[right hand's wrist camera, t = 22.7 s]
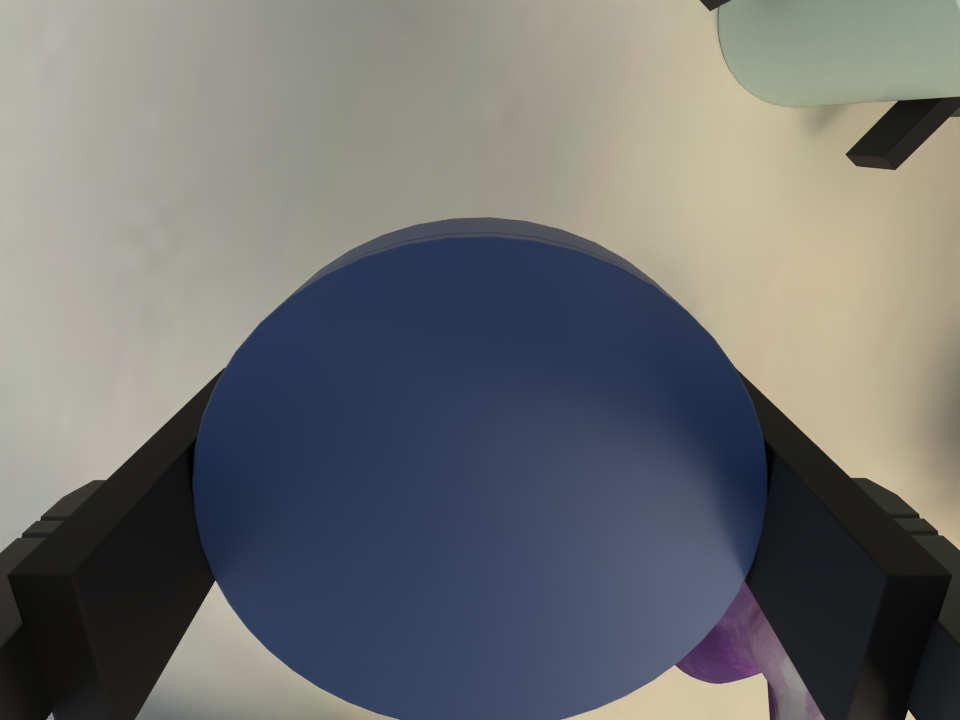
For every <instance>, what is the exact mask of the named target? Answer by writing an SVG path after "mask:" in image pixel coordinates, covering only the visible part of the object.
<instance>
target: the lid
mask: <svg viewBox="0 0 960 720" xmlns="http://www.w3.org/2000/svg"><path fill="white" fill-rule="evenodd" d="M192 490H193V504H194V513H195V518H196V523H197V528H198V533H199V537H200V542H201V546H202V549H203V551H204V554H205V556H206V559H207V562H208V564H209V567H210V569H211V572H212V574H213V576H214V578H215V580H216V582H217V584H218V585H219V587H220V589H221V591H222V593H223V594H224V596H225V598H226V600H227V602H228V603H229V605H230V606H231V607H232V609H233V610H234V611H235V613H236V614H237V615H238V617H239V618H240V619H241V621H242V622H243V623H244V625H245V626H246V627H247V628H248V630H249V631H250V632H251V633H252V634H253V635H254V636H255V637H256V638H257V639H258V640H259V641H260V642H261V643H262V644H263V645H264V646H265V647H266V648H267V649H268V650H269V651H270V652H271V653H272V654H274V655H275V656H276V657H277V658H278V659H280V660H281V661H282V662H283V663H284V664H286V665H287V666H288V667H289V668H291V669H292V670H293V671H295V672H296V673H298V674H299V675H301V676H302V677H304V678H305V679H307V680H308V681H310V682H312V683H313V684H315V685H316V686H318V687H319V688H321V689H323V690H325V691H327V692H329V693H331V694H333V695H335V696H337V697H339V698H341V699H343V700H345V701H347V702H349V703H352V704H354V705H357V706H360V707H362V708H365V709H368V710H370V711H373V712H375V713H378V714H382V715H386V716H389V717H393V718H397V719H400V720H561V719H565V718H569V717H572V716H575V715H578V714H581V713H584V712H587V711H590V710H594V709H597V708H599V707H601V706H604V705H606V704H608V703H610V702H613V701H615V700H617V699H620V698H622V697H624V696H626V695H628V694H630V693H632V692H633V691H635V690H637V689H639V688H640V687H642V686H644V685H646V684H647V683H649V682H651V681H653V680H654V679H656V678H657V677H658V676H660V675H661V674H663V673H664V672H665V671H667V670H668V669H669V668H671V667H672V666H674V665H675V664H676V663H678V662H679V661H680V660H681V659H682V658H684V657H685V656H686V655H687V654H688V653H689V652H690V651H691V650H692V649H693V648H694V647H696V646H697V645H698V644H699V643H700V642H701V641H702V640H703V639H704V638H705V637H706V635H707V634H708V633H709V632H710V631H711V630H712V628H713V627H714V626H715V625H716V624H717V623H718V621H719V620H720V619H721V618H722V617H723V615H724V614H725V612H726V611H727V609H728V608H729V606H730V605H731V603H732V601H733V600H734V598H735V597H736V595H737V594H738V592H739V591H740V589H741V587H742V585H743V583H744V580H745V578H746V576H747V574H748V572H749V570H750V568H751V566H752V564H753V561H754V558H755V555H756V552H757V549H758V545H759V542H760V538H761V533H762V528H763V523H764V517H765V512H766V506H767V501H768V465H767V458H766V452H765V445H764V439H763V433H762V430H761V427H760V424H759V421H758V418H757V414H756V411H755V408H754V405H753V402H752V399H751V398H750V396H749V394H748V392H747V390H746V388H745V386H744V384H743V382H742V380H741V378H740V376H739V374H738V372H737V370H736V368H735V367H734V365H733V364H732V363H731V361H730V360H729V358H728V357H727V356H726V354H725V353H724V352H723V350H722V349H721V347H720V346H719V345H718V343H717V342H716V340H715V339H714V338H713V337H712V336H711V335H710V334H709V333H708V332H707V331H706V330H705V329H704V328H703V327H702V326H701V325H700V324H699V323H698V322H697V321H696V319H695V318H694V317H693V316H692V315H691V314H690V313H689V312H688V311H687V310H686V309H684V308H683V307H682V306H681V305H680V304H679V303H678V302H677V301H676V300H674V299H673V298H672V297H671V296H670V295H669V294H668V293H667V292H666V291H665V290H663V289H662V288H661V287H660V286H659V285H658V284H657V283H656V282H655V281H653V280H652V279H651V278H649V277H648V276H647V275H645V274H644V273H643V272H642V271H640V270H639V269H638V268H636V267H635V266H634V265H632V264H631V263H630V262H628V261H627V260H626V259H624V258H622V257H620V256H618V255H617V254H615V253H613V252H611V251H609V250H608V249H606V248H604V247H602V246H600V245H599V244H597V243H595V242H592V241H590V240H587V239H585V238H582V237H579V236H577V235H574V234H572V233H569V232H567V231H564V230H561V229H557V228H553V227H548V226H544V225H540V224H536V223H532V222H528V221H519V220H509V219H500V218H458V219H448V220H442V221H436V222H430V223H424V224H418V225H414V226H411V227H408V228H404V229H401V230H398V231H395V232H391V233H388V234H385V235H382V236H380V237H378V238H375V239H373V240H371V241H369V242H367V243H365V244H362V245H360V246H358V247H356V248H354V249H352V250H350V251H348V252H347V253H345V254H344V255H342V256H340V257H339V258H337V259H336V260H334V261H333V262H331V263H330V264H328V265H327V266H325V267H323V268H322V269H320V270H319V271H318V272H317V273H316V274H315V275H314V276H312V277H311V278H310V279H309V280H308V281H307V282H306V283H304V284H303V285H302V286H301V287H300V288H299V289H297V290H296V291H295V292H294V293H293V294H292V295H291V296H290V297H289V298H287V299H286V300H285V301H284V302H283V303H282V304H281V305H280V306H279V307H277V308H276V309H275V310H274V311H273V312H272V313H271V314H270V315H269V316H268V317H266V318H265V319H264V320H263V321H262V322H261V323H260V324H259V325H258V326H257V327H256V329H255V330H254V331H253V332H252V333H251V334H250V336H249V337H248V338H247V339H246V340H245V341H244V343H243V344H242V345H241V346H240V347H239V349H238V350H237V351H236V352H235V354H234V355H233V357H232V359H231V360H230V362H229V363H228V365H227V367H226V368H225V370H224V371H223V373H222V375H221V376H220V378H219V380H218V381H217V383H216V385H215V387H214V390H213V392H212V395H211V397H210V399H209V402H208V404H207V407H206V409H205V411H204V414H203V417H202V421H201V425H200V429H199V433H198V437H197V441H196V445H195V451H194V463H193V475H192Z"/></svg>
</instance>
